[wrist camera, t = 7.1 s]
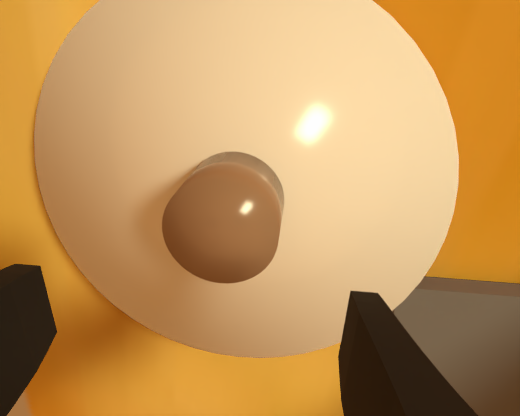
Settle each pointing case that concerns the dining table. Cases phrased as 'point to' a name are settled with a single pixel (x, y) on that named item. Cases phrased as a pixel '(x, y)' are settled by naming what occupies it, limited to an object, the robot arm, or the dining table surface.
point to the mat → (470, 338)
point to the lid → (245, 165)
